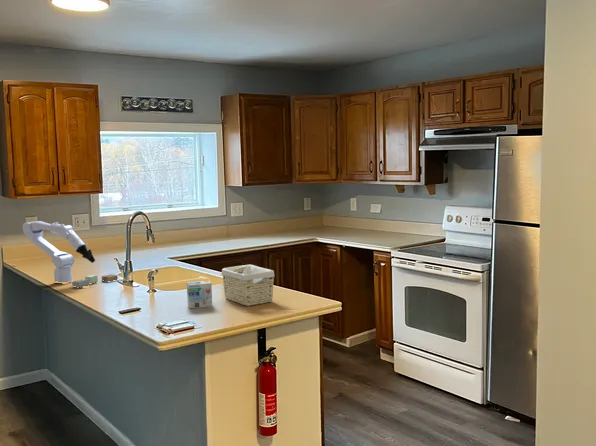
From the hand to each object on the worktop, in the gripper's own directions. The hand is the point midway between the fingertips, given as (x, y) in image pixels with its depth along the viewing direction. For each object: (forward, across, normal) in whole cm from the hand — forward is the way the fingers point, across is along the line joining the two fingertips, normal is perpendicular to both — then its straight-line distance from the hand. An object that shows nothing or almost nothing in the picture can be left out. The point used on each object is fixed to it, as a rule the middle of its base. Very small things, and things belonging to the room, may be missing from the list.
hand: (91, 259), depth 315 cm
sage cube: (+7, +10, +9) cm, 15 cm away
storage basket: (+83, -36, -42) cm, 100 cm away
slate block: (+8, +1, +13) cm, 15 cm away
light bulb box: (+71, -43, -24) cm, 87 cm away
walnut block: (+11, +14, +1) cm, 18 cm away
